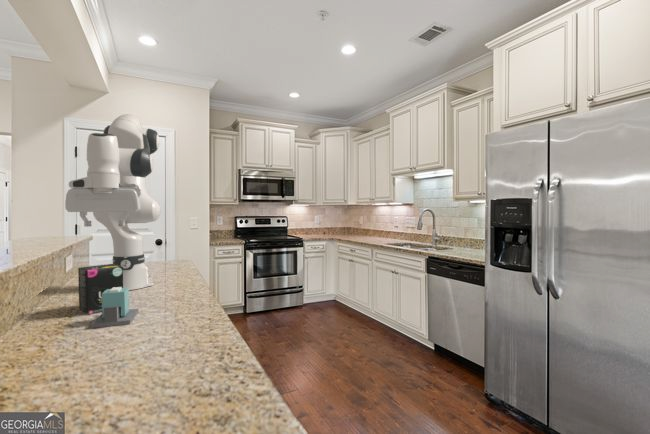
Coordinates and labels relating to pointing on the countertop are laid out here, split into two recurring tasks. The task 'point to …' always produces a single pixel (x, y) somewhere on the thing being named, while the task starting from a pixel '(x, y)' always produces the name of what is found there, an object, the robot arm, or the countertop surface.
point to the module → (116, 299)
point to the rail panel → (114, 317)
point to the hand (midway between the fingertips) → (105, 226)
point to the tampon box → (97, 285)
